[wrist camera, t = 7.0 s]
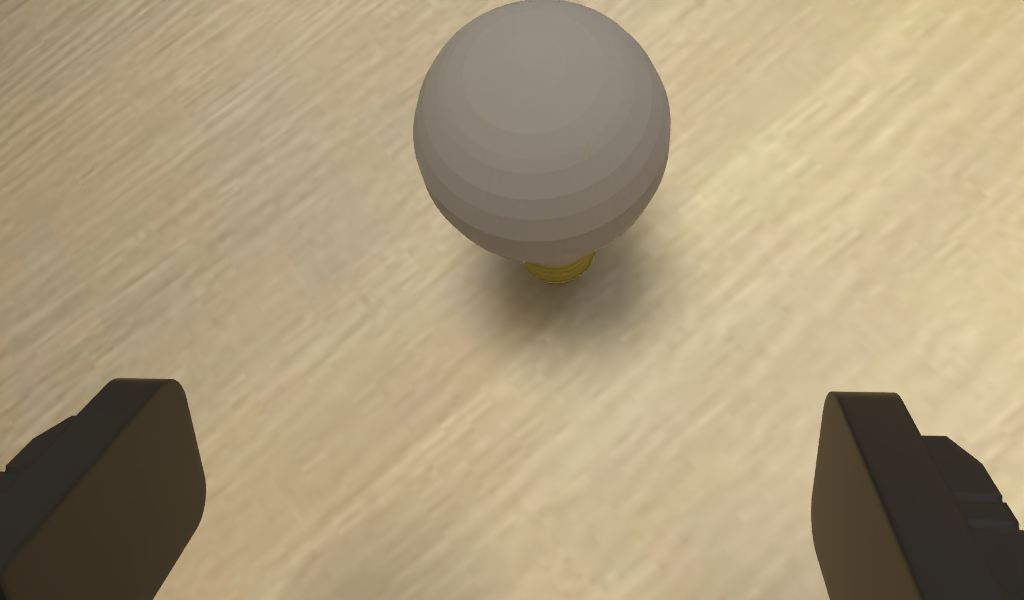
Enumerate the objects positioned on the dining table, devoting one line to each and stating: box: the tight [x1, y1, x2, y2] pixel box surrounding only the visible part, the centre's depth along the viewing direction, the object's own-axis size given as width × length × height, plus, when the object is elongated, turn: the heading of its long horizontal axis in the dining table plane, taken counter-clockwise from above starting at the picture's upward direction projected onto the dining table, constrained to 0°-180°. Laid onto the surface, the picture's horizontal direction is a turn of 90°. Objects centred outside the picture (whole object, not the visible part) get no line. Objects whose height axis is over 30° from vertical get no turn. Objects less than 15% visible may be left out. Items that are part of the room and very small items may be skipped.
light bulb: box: [413, 0, 670, 283], centre depth 21 cm, size 6×6×10 cm
